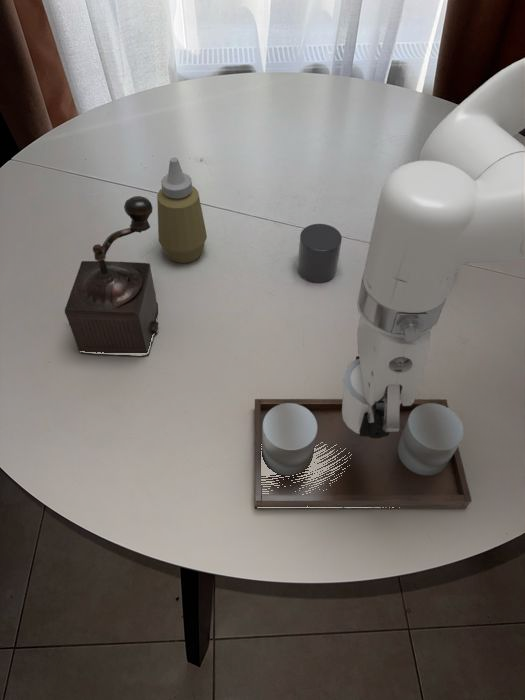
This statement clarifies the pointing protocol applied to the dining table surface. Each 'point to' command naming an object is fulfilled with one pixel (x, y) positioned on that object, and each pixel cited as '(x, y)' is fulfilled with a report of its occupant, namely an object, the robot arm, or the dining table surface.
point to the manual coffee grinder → (115, 296)
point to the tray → (360, 457)
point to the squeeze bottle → (180, 216)
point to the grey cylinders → (319, 253)
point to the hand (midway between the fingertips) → (369, 404)
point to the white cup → (355, 397)
